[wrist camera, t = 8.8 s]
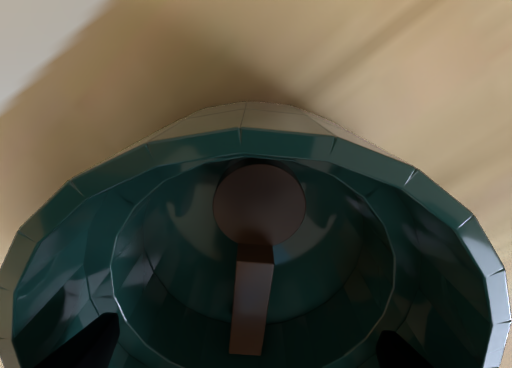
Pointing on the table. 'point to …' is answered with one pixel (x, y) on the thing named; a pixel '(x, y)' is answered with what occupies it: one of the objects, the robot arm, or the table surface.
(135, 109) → the table surface
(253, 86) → the table surface
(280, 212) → the spoon
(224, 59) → the table surface
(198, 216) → the bucket
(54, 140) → the table surface
